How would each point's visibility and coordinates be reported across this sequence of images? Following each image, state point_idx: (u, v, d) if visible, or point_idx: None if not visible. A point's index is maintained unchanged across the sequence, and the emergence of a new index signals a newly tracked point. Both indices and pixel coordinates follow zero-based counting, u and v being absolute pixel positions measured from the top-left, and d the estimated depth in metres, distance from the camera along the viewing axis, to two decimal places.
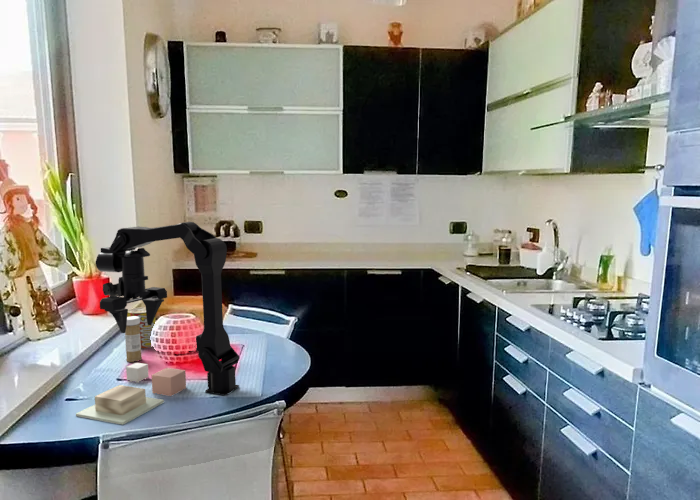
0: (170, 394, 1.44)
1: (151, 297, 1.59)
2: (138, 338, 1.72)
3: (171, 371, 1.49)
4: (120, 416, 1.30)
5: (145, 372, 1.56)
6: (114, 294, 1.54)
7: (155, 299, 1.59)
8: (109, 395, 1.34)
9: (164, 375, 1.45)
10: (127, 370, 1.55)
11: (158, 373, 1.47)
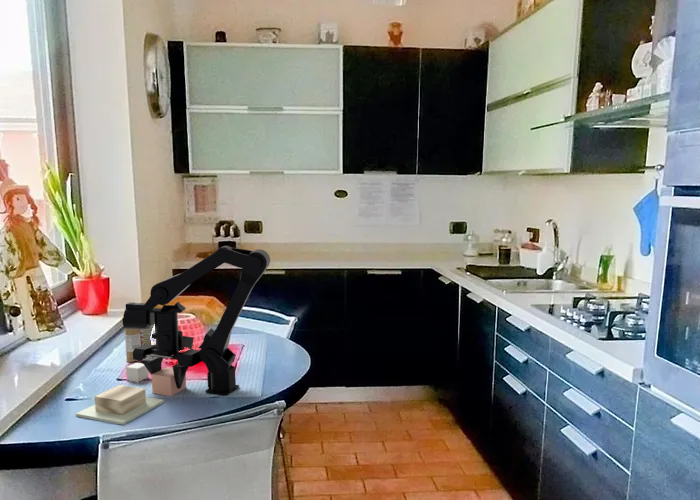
0: (170, 393, 1.44)
1: None
2: (138, 338, 1.72)
3: (171, 370, 1.48)
4: (120, 416, 1.30)
5: (145, 372, 1.56)
6: None
7: (178, 363, 1.44)
8: (109, 395, 1.34)
9: (164, 374, 1.45)
10: (127, 370, 1.55)
11: (158, 372, 1.47)
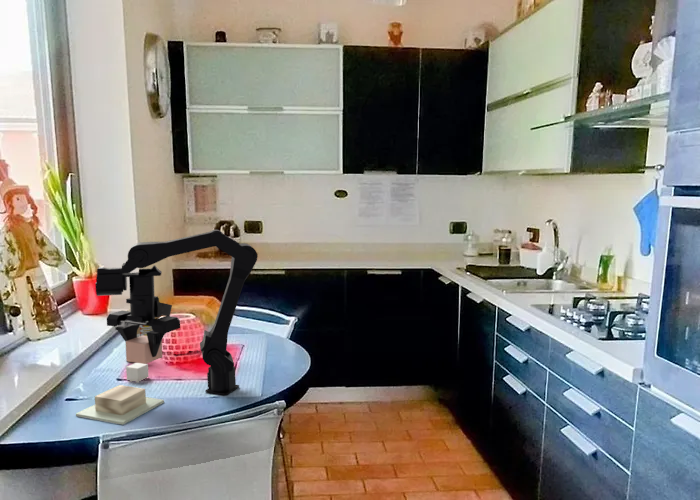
0: (144, 361, 1.37)
1: None
2: None
3: (147, 338, 1.42)
4: (120, 416, 1.30)
5: (145, 372, 1.56)
6: None
7: (153, 330, 1.37)
8: (109, 395, 1.34)
9: (138, 341, 1.38)
10: (127, 370, 1.55)
11: (133, 340, 1.40)
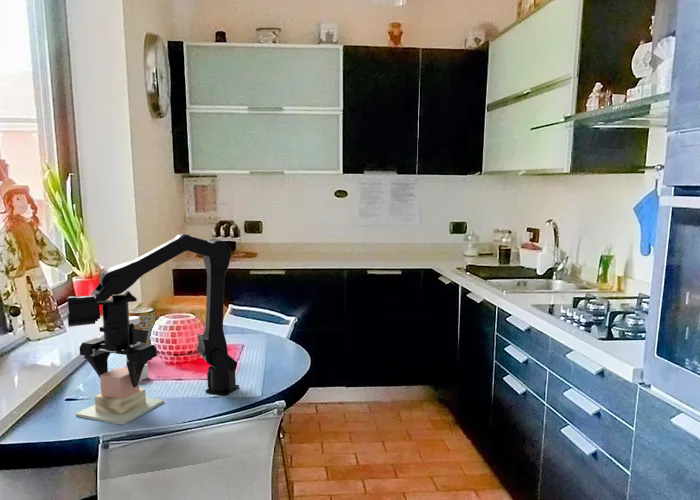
0: (120, 396, 1.32)
1: None
2: None
3: (123, 370, 1.36)
4: (120, 416, 1.30)
5: (145, 372, 1.56)
6: None
7: None
8: None
9: (114, 375, 1.33)
10: None
11: (108, 373, 1.34)
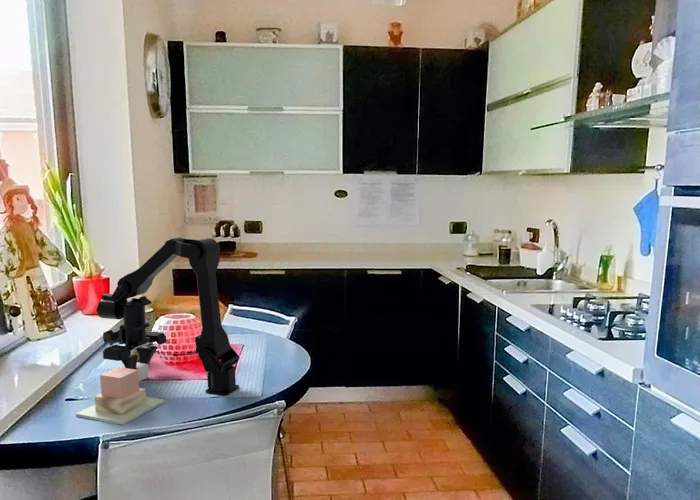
0: (120, 396, 1.32)
1: (145, 345, 1.58)
2: None
3: (123, 370, 1.36)
4: (120, 416, 1.30)
5: (145, 371, 1.56)
6: (114, 342, 1.55)
7: (149, 347, 1.58)
8: None
9: (114, 375, 1.33)
10: None
11: (108, 373, 1.34)
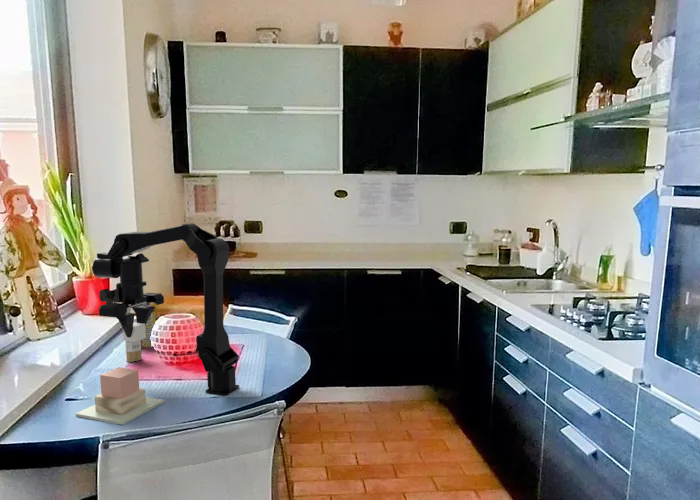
0: (120, 396, 1.32)
1: (142, 304, 1.55)
2: None
3: (123, 370, 1.36)
4: (120, 416, 1.30)
5: (142, 331, 1.54)
6: (111, 300, 1.52)
7: (146, 306, 1.55)
8: None
9: (114, 375, 1.33)
10: None
11: (108, 373, 1.34)
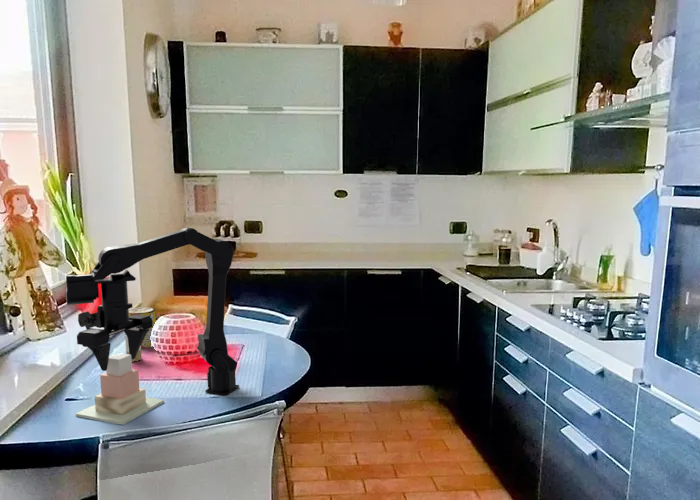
0: (120, 396, 1.32)
1: (134, 327, 1.38)
2: None
3: None
4: (120, 416, 1.30)
5: (128, 363, 1.35)
6: (92, 325, 1.33)
7: (139, 329, 1.39)
8: None
9: (114, 375, 1.33)
10: None
11: None
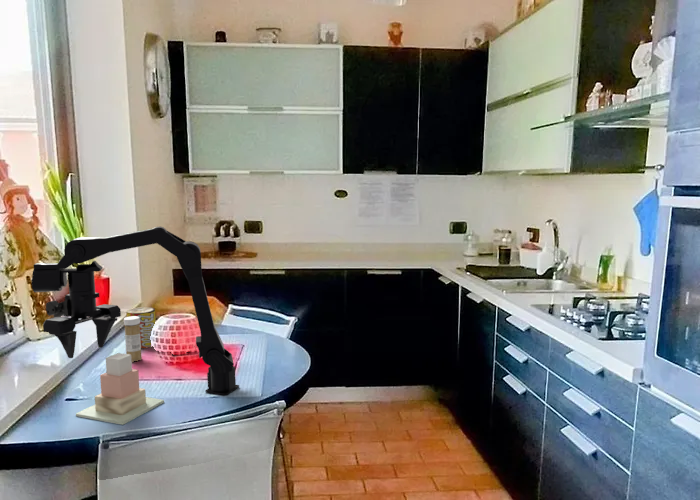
0: (120, 396, 1.32)
1: (102, 316, 1.42)
2: (138, 338, 1.72)
3: None
4: (120, 416, 1.30)
5: (128, 363, 1.35)
6: (59, 314, 1.36)
7: (107, 318, 1.42)
8: None
9: (114, 375, 1.33)
10: (107, 361, 1.33)
11: None
